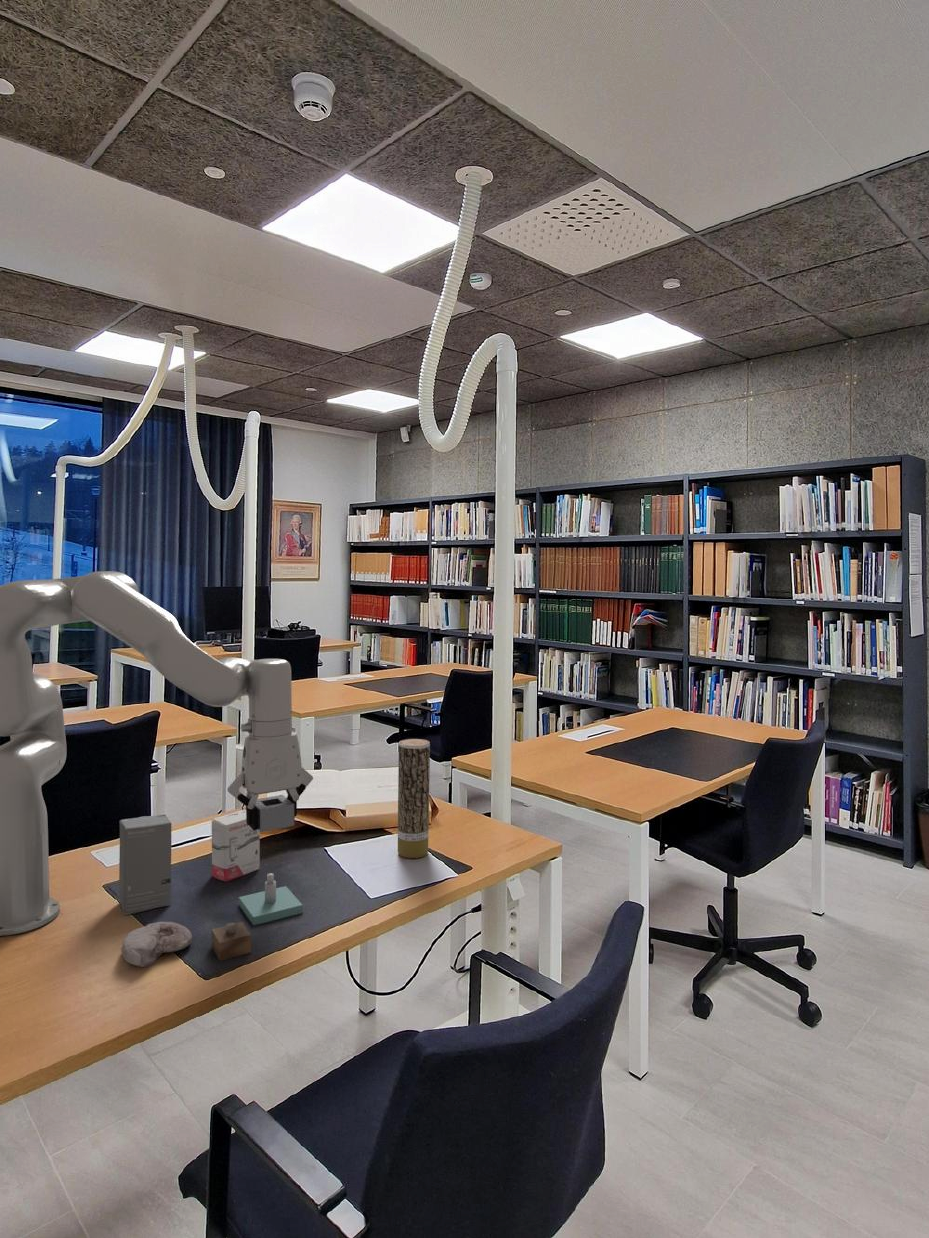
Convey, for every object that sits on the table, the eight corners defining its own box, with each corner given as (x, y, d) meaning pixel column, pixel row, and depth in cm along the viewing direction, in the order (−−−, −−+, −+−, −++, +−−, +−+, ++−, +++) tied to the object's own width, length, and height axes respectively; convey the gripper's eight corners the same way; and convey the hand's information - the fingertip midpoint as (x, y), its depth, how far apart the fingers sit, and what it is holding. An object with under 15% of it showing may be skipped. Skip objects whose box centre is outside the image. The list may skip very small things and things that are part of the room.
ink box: (224, 883, 143) (224, 825, 142) (210, 876, 146) (210, 819, 145) (260, 868, 150) (260, 813, 149) (246, 862, 153) (246, 808, 152)
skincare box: (124, 916, 129) (122, 830, 128) (118, 901, 135) (116, 818, 134) (173, 905, 133) (173, 822, 132) (166, 890, 139) (165, 810, 138)
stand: (219, 960, 115) (219, 935, 115) (211, 946, 119) (211, 922, 119) (250, 952, 118) (250, 927, 118) (242, 938, 122) (241, 914, 122)
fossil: (160, 907, 125) (205, 922, 121) (158, 930, 125) (203, 947, 121) (100, 934, 114) (148, 952, 110) (98, 961, 114) (145, 979, 110)
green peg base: (253, 925, 127) (253, 889, 126) (238, 904, 134) (238, 870, 134) (302, 912, 132) (302, 878, 131) (285, 893, 139) (285, 860, 139)
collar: (260, 832, 127) (260, 810, 127) (250, 821, 133) (249, 800, 132) (294, 825, 131) (294, 803, 130) (282, 815, 136) (282, 794, 136)
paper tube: (434, 852, 160) (436, 741, 159) (416, 862, 155) (417, 748, 153) (409, 845, 164) (411, 737, 162) (391, 855, 158) (392, 743, 157)
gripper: (227, 737, 122) (229, 840, 124) (323, 725, 132) (324, 821, 133) (216, 729, 129) (218, 827, 130) (308, 718, 138) (309, 809, 140)
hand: (272, 823), depth 132 cm, fingers closed on collar, 6 cm apart
